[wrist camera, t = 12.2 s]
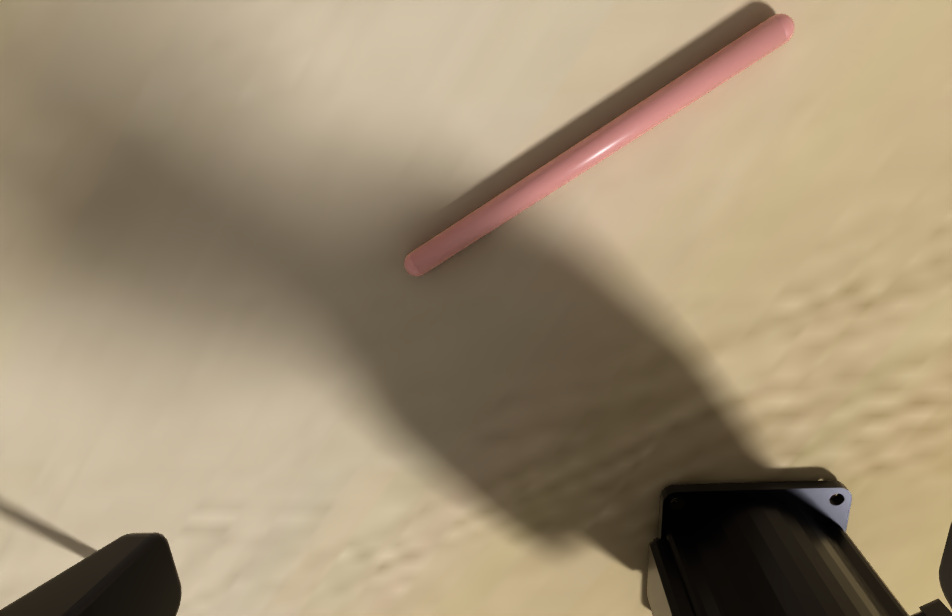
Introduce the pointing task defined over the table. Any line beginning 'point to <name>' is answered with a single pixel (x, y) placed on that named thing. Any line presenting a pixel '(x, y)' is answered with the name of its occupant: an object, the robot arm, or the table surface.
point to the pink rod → (604, 142)
